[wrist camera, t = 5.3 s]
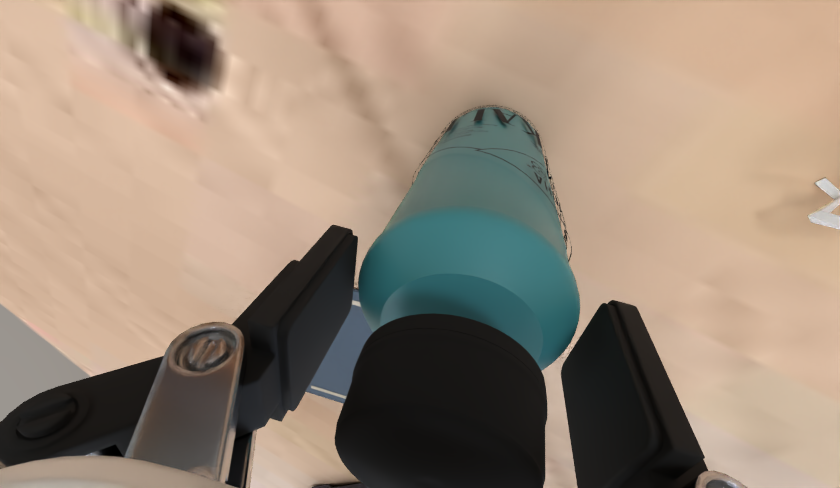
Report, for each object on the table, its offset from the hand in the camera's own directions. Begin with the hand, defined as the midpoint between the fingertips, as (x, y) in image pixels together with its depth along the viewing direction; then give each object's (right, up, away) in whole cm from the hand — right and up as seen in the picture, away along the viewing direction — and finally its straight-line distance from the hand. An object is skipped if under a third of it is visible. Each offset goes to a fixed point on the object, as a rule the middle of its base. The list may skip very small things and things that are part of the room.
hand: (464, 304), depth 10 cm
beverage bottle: (+3, +8, +13) cm, 15 cm away
